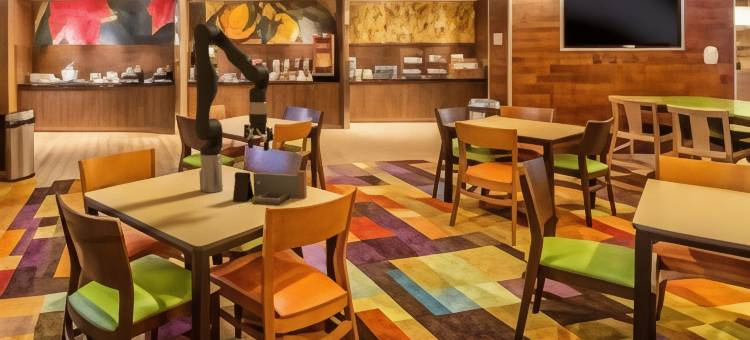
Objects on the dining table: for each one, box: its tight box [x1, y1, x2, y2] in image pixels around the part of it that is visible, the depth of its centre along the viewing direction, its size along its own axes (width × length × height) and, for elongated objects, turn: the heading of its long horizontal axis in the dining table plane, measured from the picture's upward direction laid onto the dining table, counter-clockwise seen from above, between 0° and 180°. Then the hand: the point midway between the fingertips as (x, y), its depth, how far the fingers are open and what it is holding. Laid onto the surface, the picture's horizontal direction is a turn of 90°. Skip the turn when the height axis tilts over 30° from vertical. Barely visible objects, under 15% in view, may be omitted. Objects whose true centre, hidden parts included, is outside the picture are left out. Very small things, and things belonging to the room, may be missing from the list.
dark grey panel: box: [253, 170, 308, 200], centre depth 276 cm, size 24×4×12 cm, turn 77°
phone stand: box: [232, 171, 255, 203], centre depth 270 cm, size 9×6×12 cm, turn 168°
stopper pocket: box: [252, 192, 292, 206], centre depth 269 cm, size 12×14×2 cm
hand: (258, 149), depth 269 cm, fingers open, 8 cm apart
